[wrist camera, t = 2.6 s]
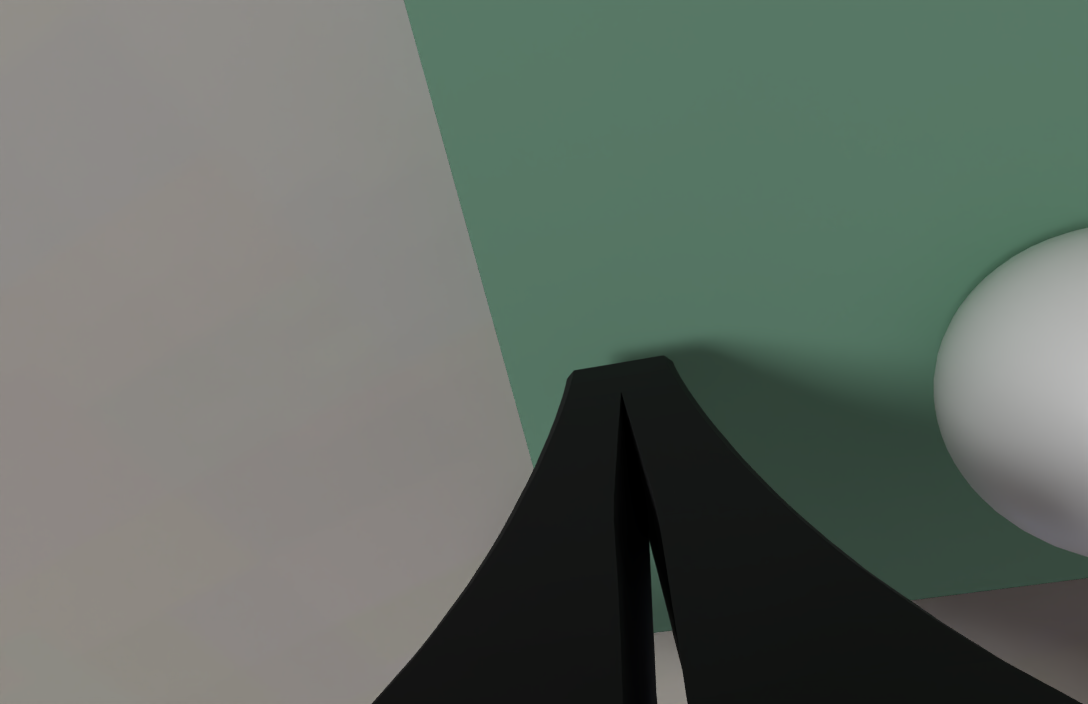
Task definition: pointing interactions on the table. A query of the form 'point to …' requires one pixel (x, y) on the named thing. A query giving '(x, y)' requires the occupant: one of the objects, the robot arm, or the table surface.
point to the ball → (1023, 390)
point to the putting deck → (771, 228)
